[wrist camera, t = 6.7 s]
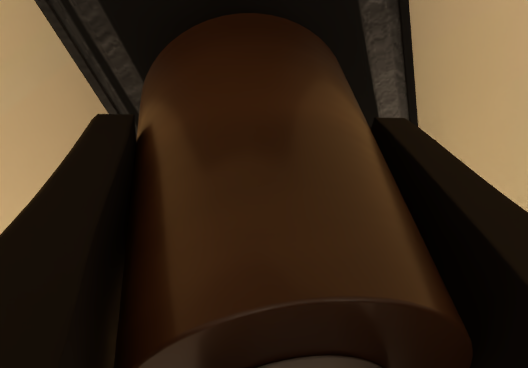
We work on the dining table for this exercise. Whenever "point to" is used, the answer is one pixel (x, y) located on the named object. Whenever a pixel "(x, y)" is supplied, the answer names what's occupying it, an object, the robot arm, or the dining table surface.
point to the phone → (226, 3)
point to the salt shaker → (271, 217)
